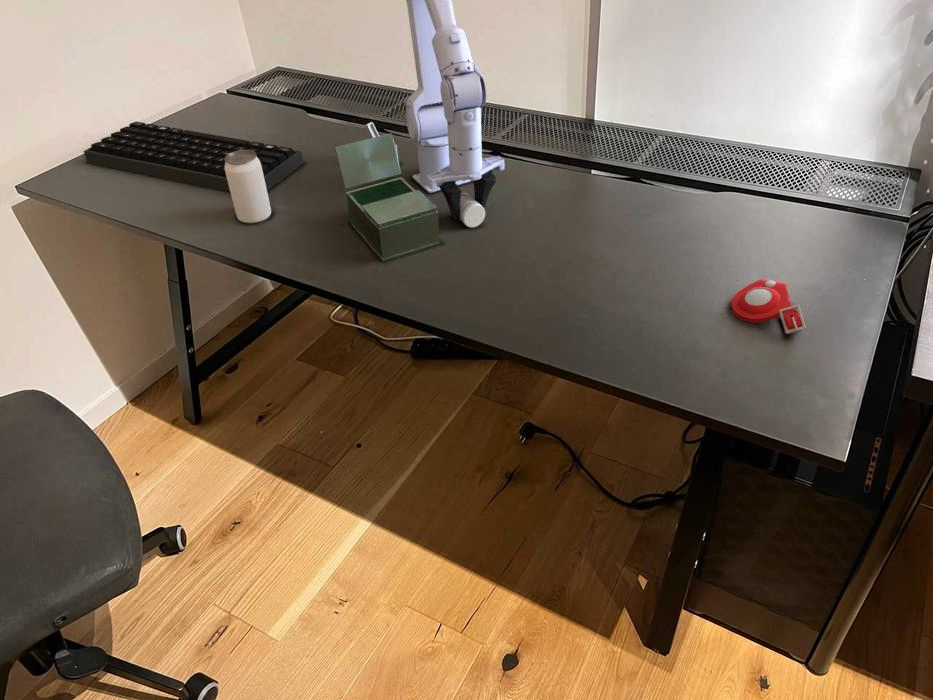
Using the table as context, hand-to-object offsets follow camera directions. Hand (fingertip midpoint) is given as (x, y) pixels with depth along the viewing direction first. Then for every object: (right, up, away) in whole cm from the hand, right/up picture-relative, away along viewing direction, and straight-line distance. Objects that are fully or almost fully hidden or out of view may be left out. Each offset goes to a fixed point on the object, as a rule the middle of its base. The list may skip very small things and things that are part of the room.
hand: (467, 214), depth 139 cm
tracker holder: (+45, -20, -24) cm, 55 cm away
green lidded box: (-13, -4, -2) cm, 14 cm away
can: (-40, 0, +5) cm, 41 cm away
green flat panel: (-18, +9, -3) cm, 20 cm away
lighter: (-18, +15, +21) cm, 31 cm away
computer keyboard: (-58, +15, +24) cm, 65 cm away
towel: (-2, +1, -2) cm, 3 cm away
